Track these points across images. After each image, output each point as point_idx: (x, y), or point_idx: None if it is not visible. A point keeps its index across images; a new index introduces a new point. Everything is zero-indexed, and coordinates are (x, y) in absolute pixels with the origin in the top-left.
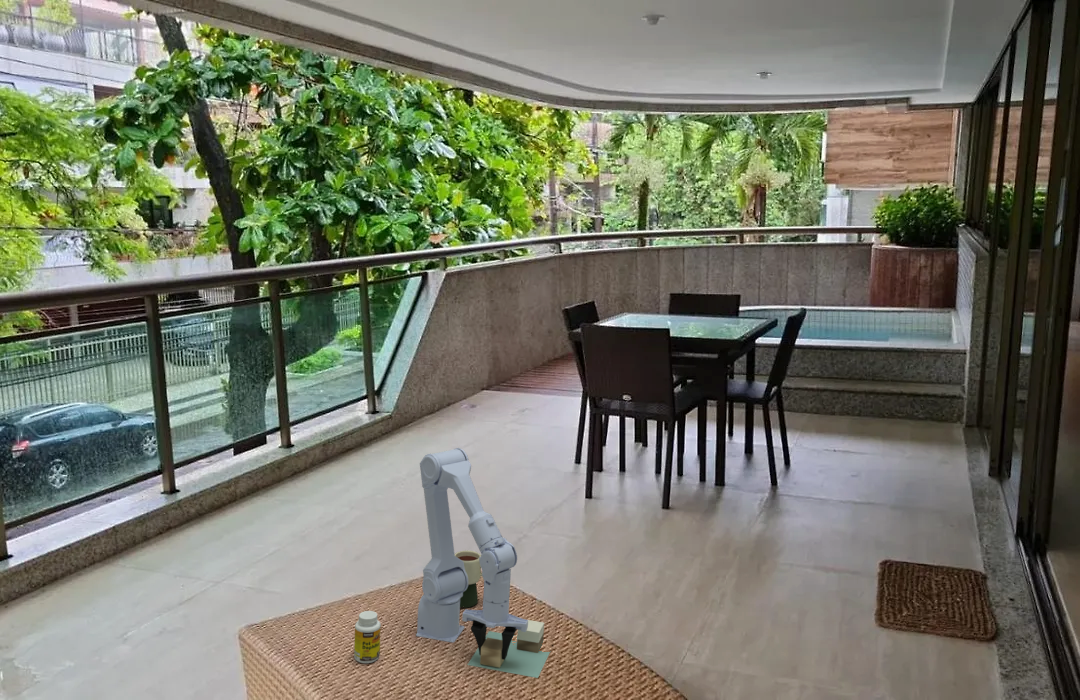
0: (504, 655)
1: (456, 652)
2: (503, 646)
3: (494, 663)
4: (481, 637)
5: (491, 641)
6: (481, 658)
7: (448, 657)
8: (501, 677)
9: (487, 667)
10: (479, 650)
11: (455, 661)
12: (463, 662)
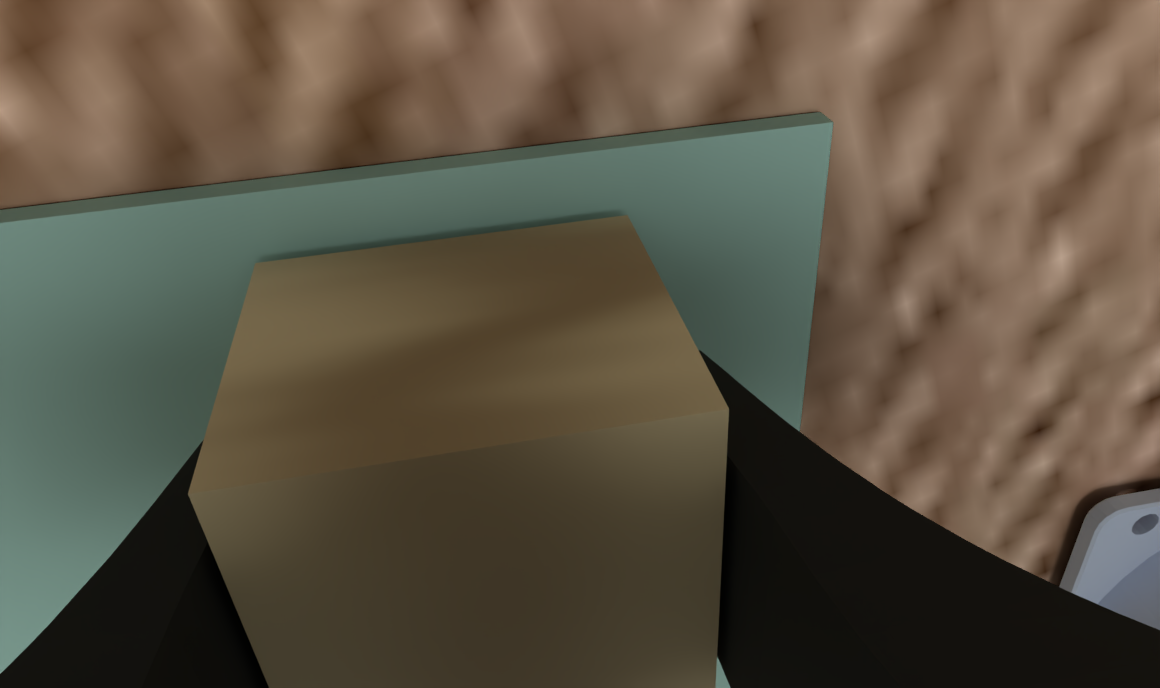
0: (178, 471)
1: (1032, 368)
2: (139, 628)
3: (360, 277)
4: (836, 631)
5: (585, 665)
6: (634, 267)
7: (1132, 216)
8: (92, 42)
9: (475, 193)
10: (738, 390)
11: (1022, 164)
12: (900, 193)
